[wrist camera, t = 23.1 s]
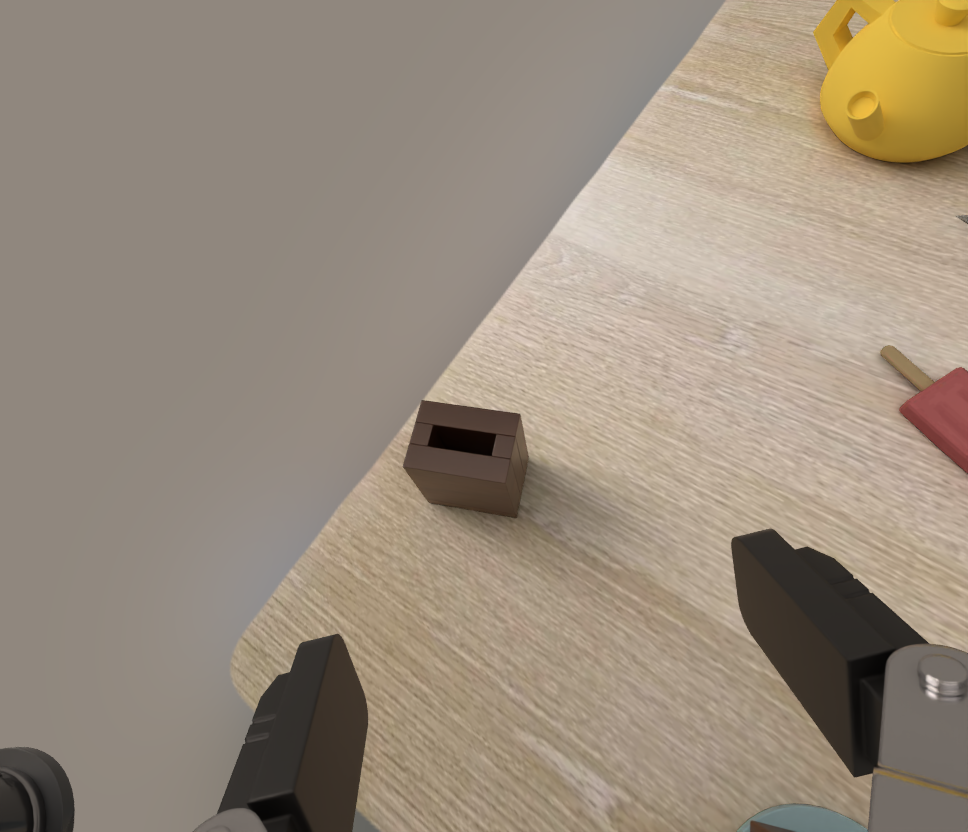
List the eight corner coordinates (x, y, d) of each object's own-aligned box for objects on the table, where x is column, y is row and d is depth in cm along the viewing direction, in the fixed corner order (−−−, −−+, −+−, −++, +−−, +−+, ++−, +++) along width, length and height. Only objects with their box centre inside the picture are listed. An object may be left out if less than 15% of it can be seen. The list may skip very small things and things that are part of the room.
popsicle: (915, 324, 47) (1100, 480, 41) (905, 336, 48) (1082, 488, 42) (860, 360, 46) (1039, 523, 40) (852, 370, 48) (1023, 530, 41)
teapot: (729, 137, 60) (759, 24, 50) (844, 36, 63) (893, -88, 53) (929, 243, 52) (1012, 133, 42) (1047, 119, 55) (1148, -8, 46)
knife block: (516, 518, 46) (505, 483, 39) (428, 502, 48) (402, 466, 41) (528, 457, 48) (520, 413, 41) (443, 444, 50) (421, 399, 43)
